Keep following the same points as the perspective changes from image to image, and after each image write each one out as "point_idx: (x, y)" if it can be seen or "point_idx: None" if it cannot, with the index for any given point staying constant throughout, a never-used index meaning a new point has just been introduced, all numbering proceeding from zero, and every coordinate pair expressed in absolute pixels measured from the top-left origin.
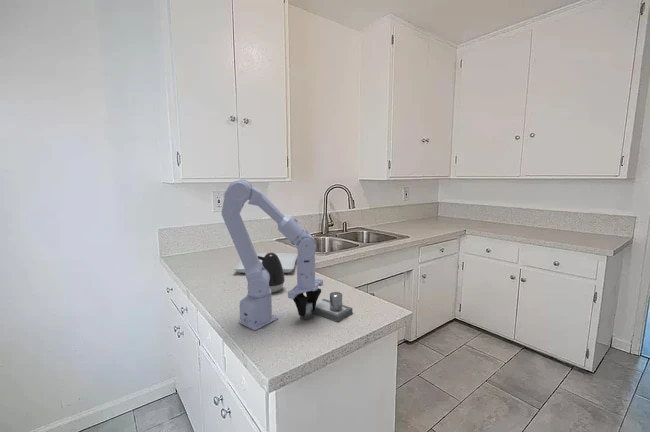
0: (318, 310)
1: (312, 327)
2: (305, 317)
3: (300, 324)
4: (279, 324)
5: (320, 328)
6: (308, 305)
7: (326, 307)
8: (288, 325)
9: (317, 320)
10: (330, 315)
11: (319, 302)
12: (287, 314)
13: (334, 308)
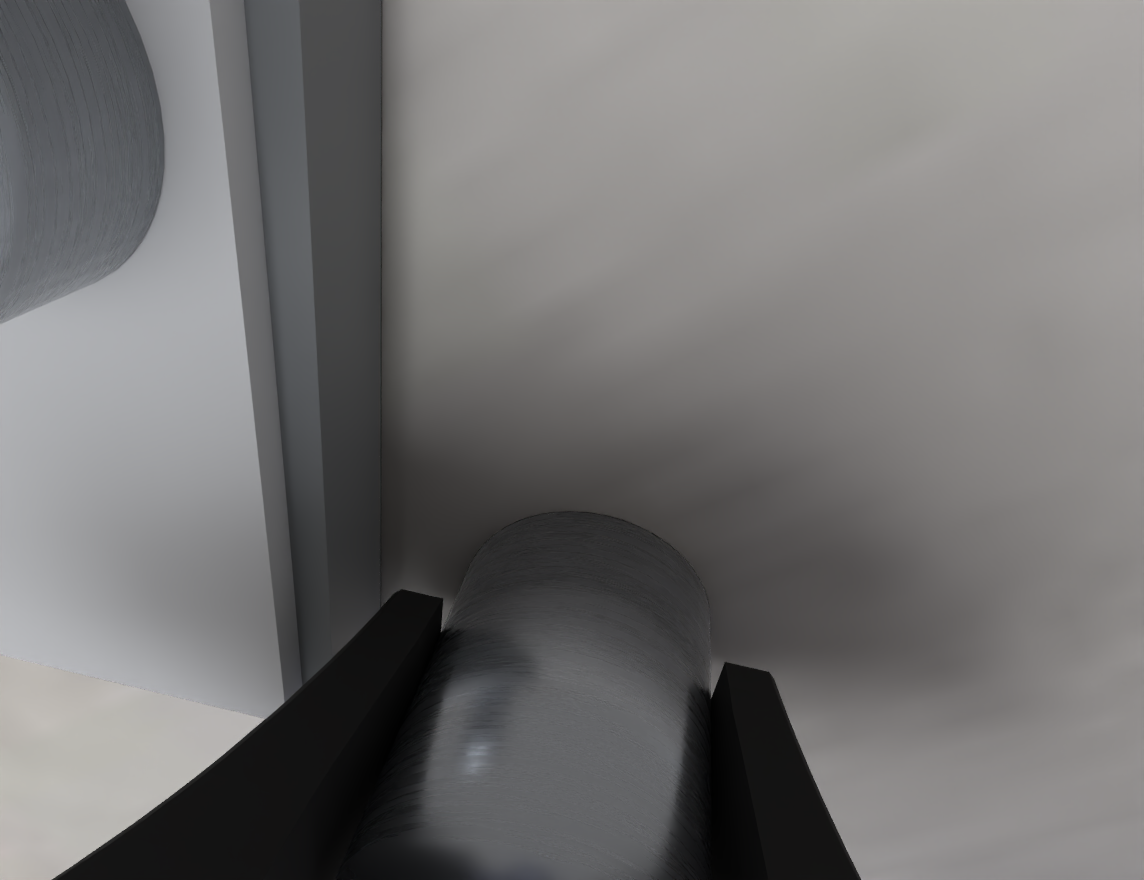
0: (331, 521)
1: (987, 322)
2: (701, 624)
3: (922, 594)
4: (1034, 848)
5: (985, 93)
6: (637, 864)
7: (113, 406)
8: (1032, 741)
9: (597, 374)
10: (326, 110)
11: (67, 639)
12: None
13: (16, 6)
